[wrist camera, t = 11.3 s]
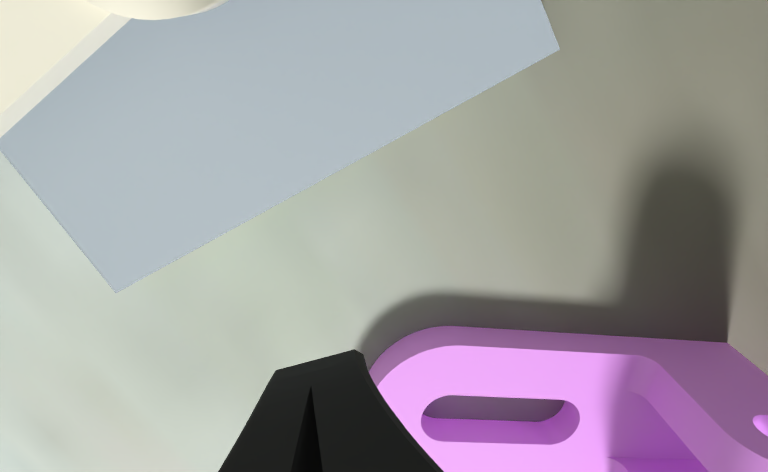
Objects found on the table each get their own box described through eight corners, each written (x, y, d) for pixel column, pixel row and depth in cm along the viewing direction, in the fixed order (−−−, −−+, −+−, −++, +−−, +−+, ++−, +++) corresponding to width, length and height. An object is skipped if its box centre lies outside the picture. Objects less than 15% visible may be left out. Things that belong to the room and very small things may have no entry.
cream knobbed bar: (169, -251, 12) (131, -318, 9) (306, -68, 13) (307, -83, 11) (-174, 85, 13) (-289, 107, 11) (-16, 219, 15) (-84, 266, 12)
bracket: (724, 340, 23) (893, 478, 16) (679, 463, 25) (814, 631, 18) (372, 318, 20) (404, 467, 14) (352, 455, 22) (372, 641, 16)
